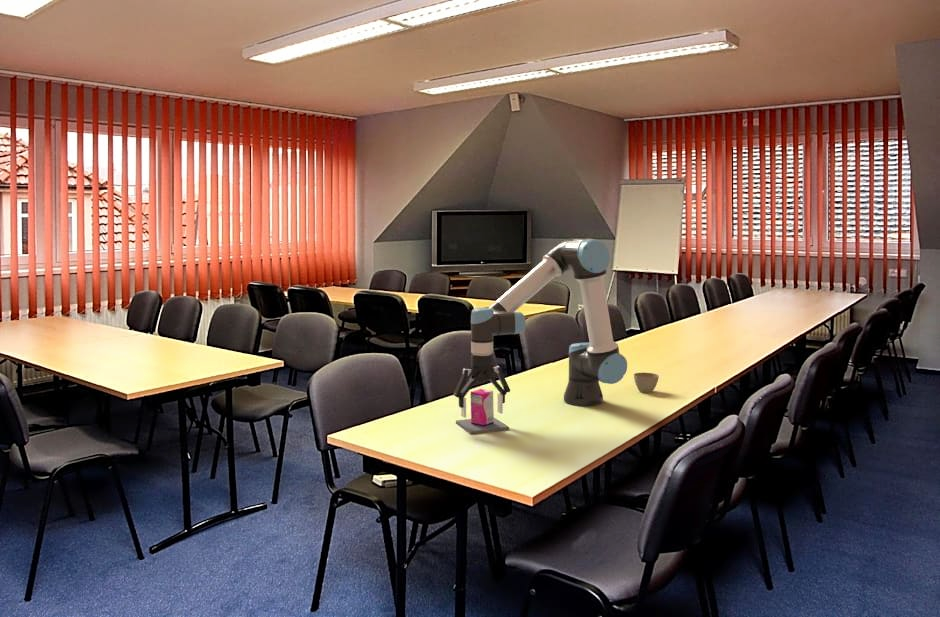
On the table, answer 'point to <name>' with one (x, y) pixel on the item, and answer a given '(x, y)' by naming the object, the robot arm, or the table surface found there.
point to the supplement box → (482, 407)
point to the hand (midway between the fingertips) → (482, 414)
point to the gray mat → (479, 429)
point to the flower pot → (646, 382)
